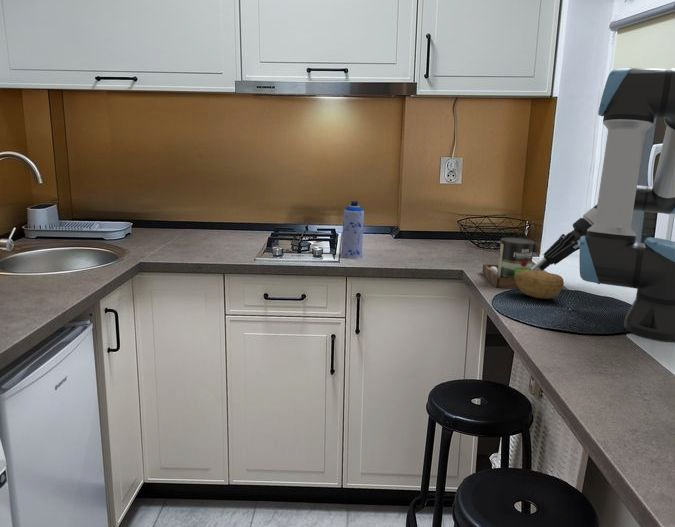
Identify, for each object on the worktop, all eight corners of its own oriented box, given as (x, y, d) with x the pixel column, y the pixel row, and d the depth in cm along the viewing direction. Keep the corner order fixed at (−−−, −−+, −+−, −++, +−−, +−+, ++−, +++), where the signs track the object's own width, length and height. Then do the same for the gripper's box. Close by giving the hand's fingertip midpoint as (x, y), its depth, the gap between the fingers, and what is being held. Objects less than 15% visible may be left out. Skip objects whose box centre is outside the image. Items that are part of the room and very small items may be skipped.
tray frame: (540, 289, 195) (541, 280, 194) (496, 287, 194) (497, 278, 194) (522, 274, 213) (523, 265, 213) (482, 272, 213) (483, 263, 212)
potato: (520, 289, 194) (523, 264, 192) (566, 299, 185) (569, 273, 183) (507, 295, 186) (510, 269, 184) (554, 306, 178) (558, 279, 176)
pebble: (498, 276, 209) (499, 267, 208) (489, 276, 209) (490, 267, 208) (496, 274, 212) (497, 265, 211) (487, 273, 212) (488, 265, 211)
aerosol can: (356, 253, 233) (359, 199, 228) (365, 258, 226) (369, 203, 221) (337, 254, 230) (340, 200, 225) (346, 259, 223) (349, 203, 218)
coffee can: (536, 287, 197) (541, 243, 194) (506, 288, 194) (511, 243, 191) (518, 278, 207) (523, 236, 203) (490, 279, 204) (494, 237, 201)
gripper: (605, 238, 192) (544, 288, 195) (589, 230, 204) (532, 277, 208) (590, 220, 190) (529, 270, 194) (575, 213, 203) (518, 261, 207)
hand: (531, 274), depth 201 cm, fingers closed
